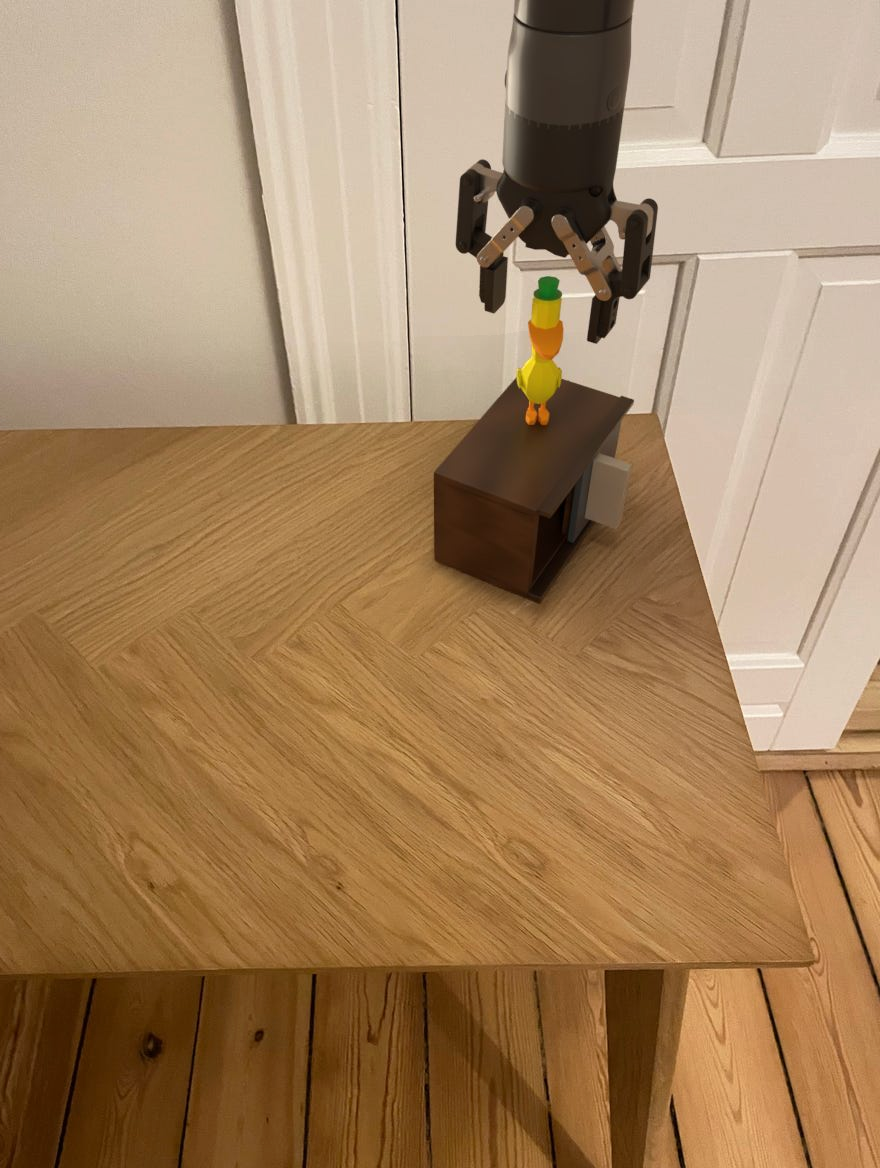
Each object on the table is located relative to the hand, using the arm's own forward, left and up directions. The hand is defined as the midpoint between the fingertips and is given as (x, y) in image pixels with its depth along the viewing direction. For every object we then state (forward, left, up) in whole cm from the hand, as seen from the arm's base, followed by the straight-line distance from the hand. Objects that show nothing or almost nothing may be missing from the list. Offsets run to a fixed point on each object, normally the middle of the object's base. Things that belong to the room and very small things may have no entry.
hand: (544, 322), depth 74 cm
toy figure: (0, 0, -9) cm, 9 cm away
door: (-7, -1, -18) cm, 19 cm away
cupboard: (0, +2, -19) cm, 19 cm away
